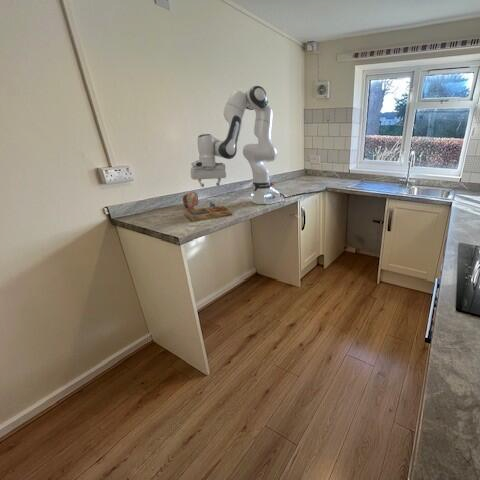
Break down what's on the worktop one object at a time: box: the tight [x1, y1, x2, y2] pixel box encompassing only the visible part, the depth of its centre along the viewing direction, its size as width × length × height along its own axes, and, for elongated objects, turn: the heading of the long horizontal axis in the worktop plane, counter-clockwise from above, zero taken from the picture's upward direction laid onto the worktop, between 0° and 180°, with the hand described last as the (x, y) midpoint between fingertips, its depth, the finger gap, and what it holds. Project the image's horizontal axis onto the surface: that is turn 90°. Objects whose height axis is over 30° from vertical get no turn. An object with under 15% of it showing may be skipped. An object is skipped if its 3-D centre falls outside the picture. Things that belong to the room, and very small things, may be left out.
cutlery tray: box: [184, 205, 233, 222], centre depth 151 cm, size 22×14×3 cm, turn 129°
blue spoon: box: [209, 201, 216, 207], centre depth 165 cm, size 10×4×3 cm, turn 39°
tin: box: [182, 191, 199, 209], centre depth 168 cm, size 15×3×8 cm, turn 179°
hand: (210, 186), depth 160 cm, fingers open, 8 cm apart
